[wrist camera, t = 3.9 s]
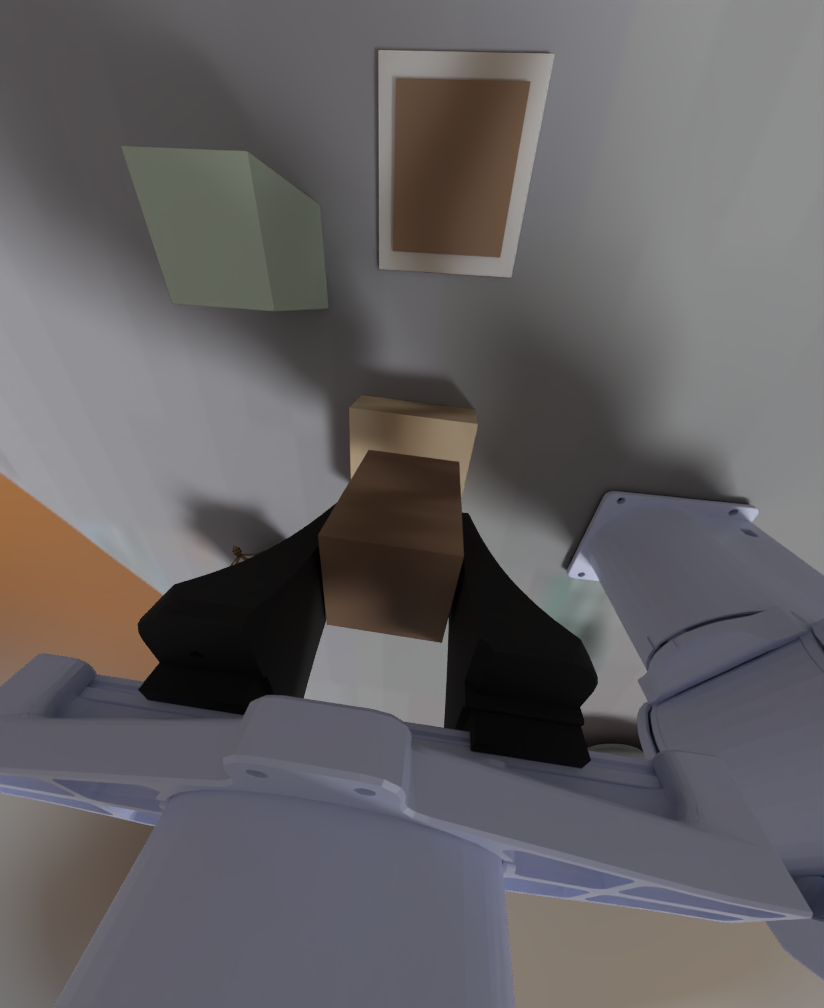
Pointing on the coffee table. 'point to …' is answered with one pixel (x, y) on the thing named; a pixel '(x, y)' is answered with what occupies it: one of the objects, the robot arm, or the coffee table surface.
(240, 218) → the sage green block
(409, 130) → the swatch
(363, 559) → the walnut block
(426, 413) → the oak base block
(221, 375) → the coffee table surface
